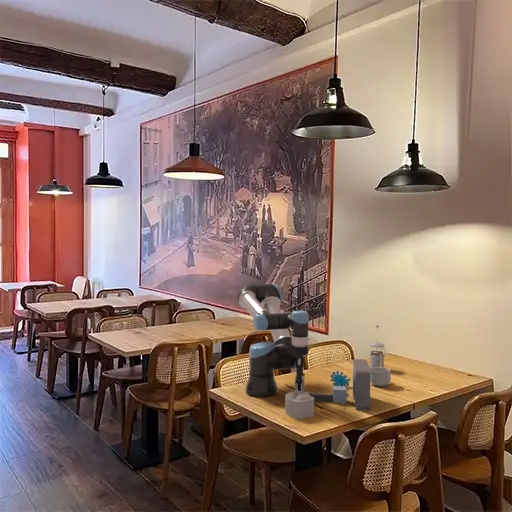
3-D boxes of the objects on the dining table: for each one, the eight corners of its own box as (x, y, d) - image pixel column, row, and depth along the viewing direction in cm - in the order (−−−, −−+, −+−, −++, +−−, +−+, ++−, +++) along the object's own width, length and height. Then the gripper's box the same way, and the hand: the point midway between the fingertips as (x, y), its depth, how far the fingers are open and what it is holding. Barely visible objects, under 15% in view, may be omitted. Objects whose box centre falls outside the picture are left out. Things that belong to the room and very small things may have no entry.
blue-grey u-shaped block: (295, 401, 223) (295, 379, 223) (295, 397, 228) (295, 376, 228) (349, 403, 220) (349, 381, 220) (348, 400, 225) (348, 378, 225)
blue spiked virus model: (334, 387, 238) (329, 369, 245) (329, 393, 242) (324, 375, 249) (354, 388, 242) (348, 370, 248) (348, 394, 246) (343, 376, 252)
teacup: (386, 389, 241) (386, 373, 241) (365, 385, 247) (365, 370, 247) (395, 382, 253) (395, 367, 253) (374, 379, 259) (374, 364, 259)
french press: (364, 368, 279) (364, 325, 278) (376, 365, 287) (376, 322, 286) (379, 372, 272) (379, 327, 271) (390, 368, 280) (391, 324, 279)
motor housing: (355, 409, 212) (355, 370, 212) (352, 394, 232) (352, 359, 232) (370, 410, 211) (370, 371, 211) (366, 395, 232) (366, 359, 231)
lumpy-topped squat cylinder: (296, 420, 200) (297, 399, 200) (279, 410, 211) (279, 390, 211) (317, 415, 205) (317, 395, 205) (299, 406, 216) (299, 387, 216)
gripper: (307, 351, 213) (307, 402, 214) (308, 340, 235) (308, 386, 236) (290, 350, 214) (289, 401, 215) (293, 340, 236) (292, 386, 237)
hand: (299, 393), depth 225 cm, fingers open, 10 cm apart
